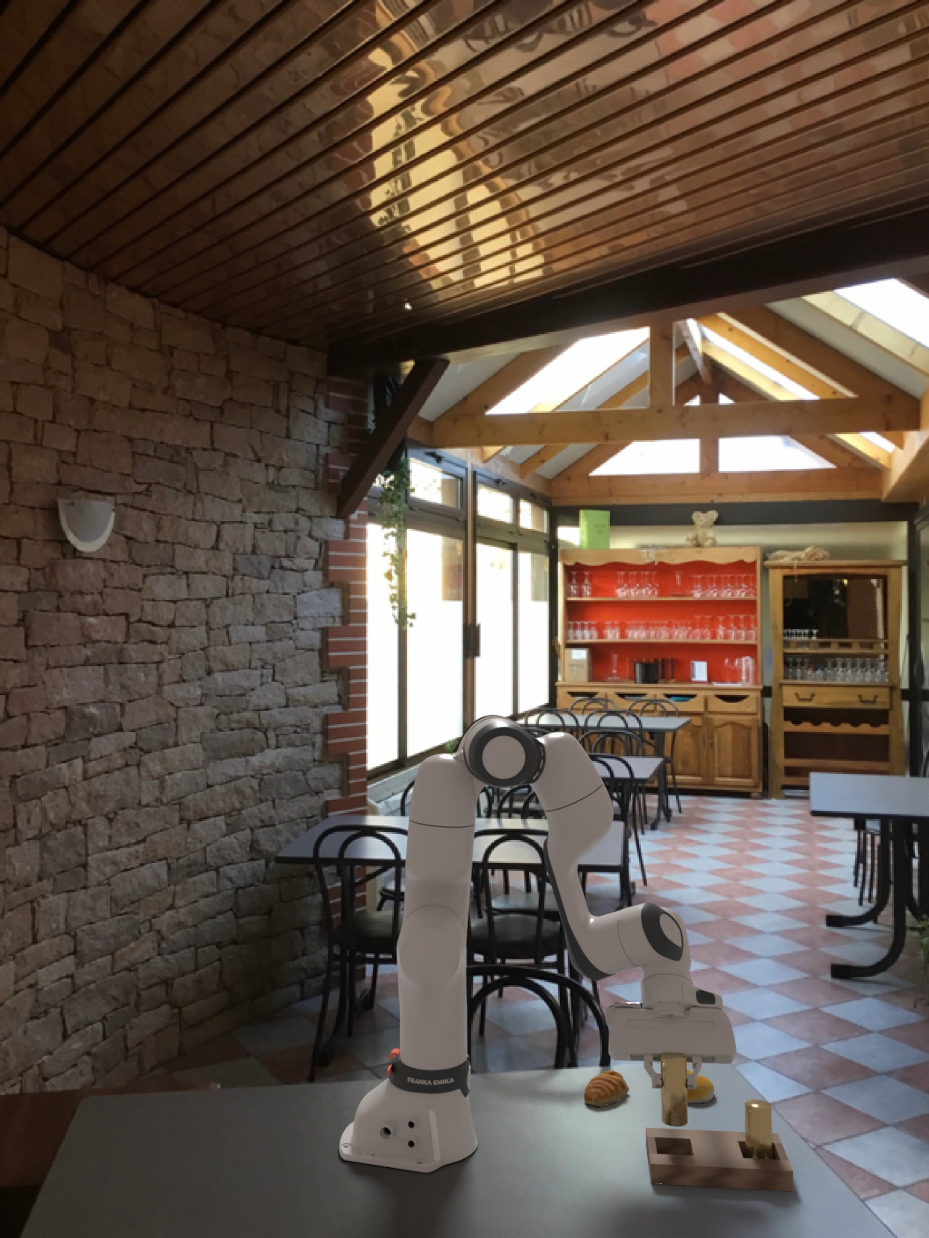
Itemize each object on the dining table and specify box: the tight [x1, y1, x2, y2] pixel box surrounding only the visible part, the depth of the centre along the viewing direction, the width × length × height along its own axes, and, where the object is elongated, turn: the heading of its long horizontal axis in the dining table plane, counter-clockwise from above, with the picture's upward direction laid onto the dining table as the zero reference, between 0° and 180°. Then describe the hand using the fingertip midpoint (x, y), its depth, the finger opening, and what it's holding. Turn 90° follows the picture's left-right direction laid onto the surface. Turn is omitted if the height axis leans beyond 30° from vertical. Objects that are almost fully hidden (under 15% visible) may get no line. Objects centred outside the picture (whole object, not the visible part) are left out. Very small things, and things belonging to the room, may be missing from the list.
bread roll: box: [687, 1069, 715, 1104], centre depth 189 cm, size 8×9×4 cm
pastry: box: [583, 1070, 630, 1107], centre depth 187 cm, size 9×7×4 cm
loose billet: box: [660, 1052, 689, 1128], centre depth 163 cm, size 4×4×10 cm
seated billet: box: [744, 1098, 773, 1160], centre depth 161 cm, size 4×4×10 cm
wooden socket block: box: [645, 1127, 794, 1192], centre depth 162 cm, size 21×12×3 cm, turn 84°
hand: (674, 1087), depth 162 cm, fingers closed on loose billet, 4 cm apart
